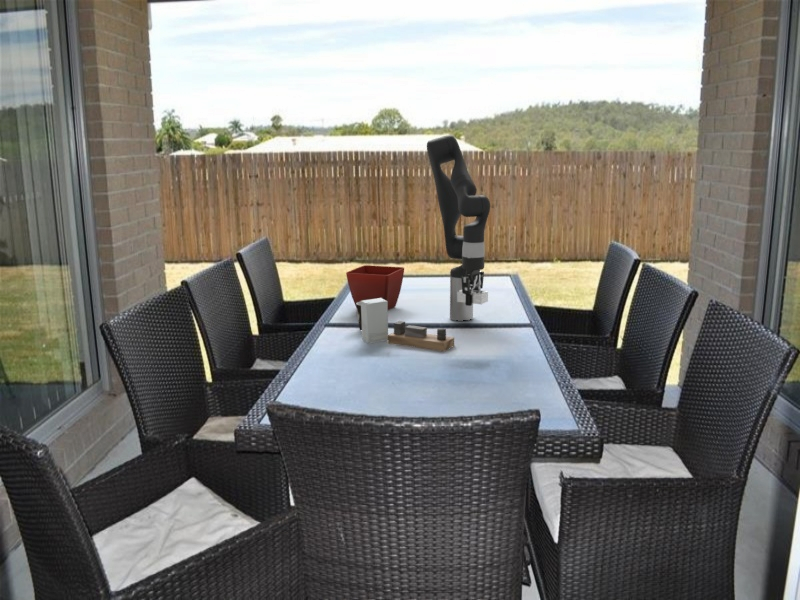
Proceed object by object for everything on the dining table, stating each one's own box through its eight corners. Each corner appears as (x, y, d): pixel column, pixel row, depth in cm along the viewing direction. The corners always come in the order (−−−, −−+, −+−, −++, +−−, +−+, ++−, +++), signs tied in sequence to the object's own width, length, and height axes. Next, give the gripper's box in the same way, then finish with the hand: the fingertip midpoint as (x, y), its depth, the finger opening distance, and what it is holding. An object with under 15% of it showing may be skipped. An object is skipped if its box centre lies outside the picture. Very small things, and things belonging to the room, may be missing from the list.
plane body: (399, 337, 271) (398, 319, 269) (454, 345, 260) (454, 326, 259) (388, 343, 264) (387, 324, 262) (444, 351, 253) (444, 331, 252)
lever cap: (463, 298, 260) (463, 288, 259) (487, 301, 256) (488, 291, 255) (457, 301, 255) (457, 291, 255) (481, 304, 251) (481, 294, 250)
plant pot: (345, 311, 311) (345, 272, 307) (365, 302, 328) (364, 264, 324) (388, 315, 304) (387, 275, 300) (405, 305, 321) (405, 267, 317)
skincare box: (382, 337, 272) (381, 297, 269) (389, 341, 267) (388, 300, 263) (360, 339, 268) (360, 299, 265) (367, 344, 263) (366, 302, 260)
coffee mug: (376, 332, 278) (376, 306, 276) (354, 331, 280) (353, 305, 278) (383, 324, 289) (383, 299, 287) (361, 323, 291) (361, 298, 289)
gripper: (471, 251, 260) (470, 298, 264) (454, 257, 248) (453, 306, 251) (491, 252, 257) (490, 300, 260) (475, 258, 244) (474, 309, 248)
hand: (472, 303), depth 256 cm, fingers closed on lever cap, 5 cm apart
